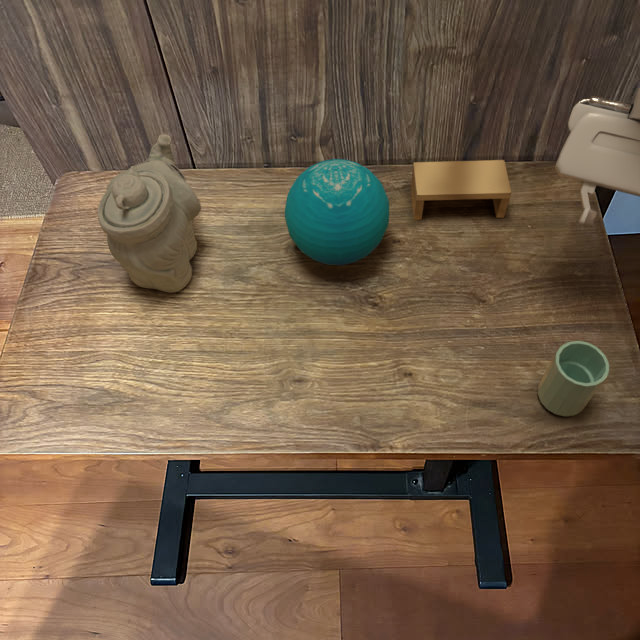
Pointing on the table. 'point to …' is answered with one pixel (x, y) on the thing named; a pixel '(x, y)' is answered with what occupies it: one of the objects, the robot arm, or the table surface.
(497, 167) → the shelf
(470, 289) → the table surface
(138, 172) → the teapot
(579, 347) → the sage green tumbler
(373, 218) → the decorative orb
